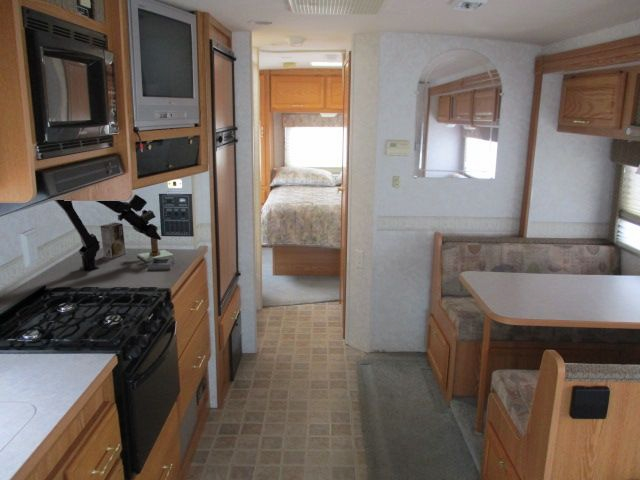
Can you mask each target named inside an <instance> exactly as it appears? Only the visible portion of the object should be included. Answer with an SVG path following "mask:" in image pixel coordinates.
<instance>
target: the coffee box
mask: <svg viewBox="0 0 640 480" xmlns="http://www.w3.org/2000/svg"><path fill="white" fill-rule="evenodd" d="M123 225H124V224H123V223H120V222H110V223H107V224H103V225H100V226H99V227H100V234H101V242H102V244H101V245H102V251H103V257H104V258H110V259H113V258H116V257H119V256H123V255H125V254H126V253H127V252H126V245H125V235H124V233H125V232H124V227H123Z"/></svg>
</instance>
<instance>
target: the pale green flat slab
mask: <svg viewBox="0 0 640 480" xmlns="http://www.w3.org/2000/svg"><path fill="white" fill-rule="evenodd" d="M159 251H160V255H158V256H151V255H150V252H151V251H149V252H141V253H138V254H137V257H138V258H140V259H141V260H143V261H145V262H146V263H148V262H149V263H150V262H151V260H152V259H153V258H173V257H174V258H175V255H174V254H173V253H171V252H169V251H167V250H166V249H160V250H159Z"/></svg>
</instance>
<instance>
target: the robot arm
mask: <svg viewBox="0 0 640 480" xmlns="http://www.w3.org/2000/svg"><path fill="white" fill-rule="evenodd" d="M53 201H54V202H55V203H56V204H57V205H58V206H59V208H60V209H62V210H63V211H64V213H65V215H66V216H67V217H68V219H69V221H70V222H71V223H72V226H73V227H74V230H76V232H77V233H78V235H79V236H80V241H81V244H82V246H81V247H80V249H78V253H79V254H80V255H81V264H82V265H81V266H80V267H79V268H80V269H81V270H83V271H85V272H86V271H90V270H96V269H99V266H98V265H96V257H97V253H98V252H99V251H100V248H101V245H100V243H101V242H100V241H99V240H98V238H97V235H95V234H94V233H89V231H88V230H87V228H86V226H85V224H84V222H83V221H82V219H81V218H80V216H79V215H78V213H77V211H76V210H75V208H74V206H73V201H72V200H71V201H64V200H54V199H53ZM95 202H97V203H99V204H101V205H103V206H104V207H106V208H107V209H108V210H111V211H112V212H115V213H116V214H117V221H120V222H121V221H123V220H125V222H127V223H128V224H129V225H130V226H132V229H133V230H134V231H136V233H137V232H138V233H140V234H143V235H145V237H148V238H150V239H151V238H154V239H157V241H158V240H159V241H161V240H162V237H161V236H160V234H159V233H158V231H157V232H156V229H157V227H158V226H156V225H155V224H153V223H150V222H149V221H151V220H153V219H155V218H156V217H157V216H156V214H155V213H154V211H153V210H150V209H149V210H146V209H144V207H145V206H146V205H147V203H148V201H147V200H146V199H144V198H142V197H141V196H139V194H134V195H133V197H132V198H131V199H130V200H129V202H127V201H121V200H119V201H95ZM136 212H141V215H139V214H137V213H136Z"/></svg>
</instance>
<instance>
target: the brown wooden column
mask: <svg viewBox="0 0 640 480" xmlns="http://www.w3.org/2000/svg"><path fill="white" fill-rule="evenodd" d="M156 227H157V229H156V232H157V233H158V230H159V227H158V226H156ZM150 248H151V251H149V252H150V255H151V256H158V255H160V250H159V245H158V239H154V238H150Z"/></svg>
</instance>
